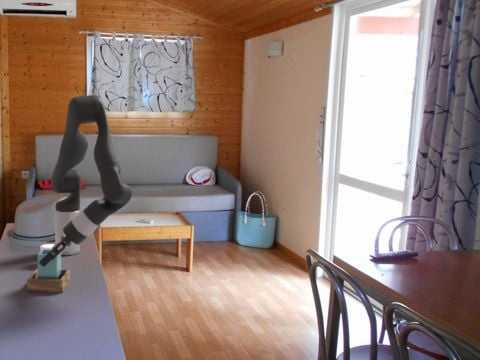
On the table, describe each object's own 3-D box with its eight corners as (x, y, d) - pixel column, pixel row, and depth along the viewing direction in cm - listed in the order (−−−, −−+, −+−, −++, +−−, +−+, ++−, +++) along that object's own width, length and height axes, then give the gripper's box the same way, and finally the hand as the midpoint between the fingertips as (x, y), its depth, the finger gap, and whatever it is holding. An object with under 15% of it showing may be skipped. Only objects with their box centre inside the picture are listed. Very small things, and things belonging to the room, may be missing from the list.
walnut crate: (37, 280, 195) (37, 268, 195) (70, 280, 196) (70, 269, 195) (27, 291, 184) (27, 279, 183) (62, 292, 185) (62, 280, 184)
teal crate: (42, 272, 192) (42, 249, 191) (61, 273, 193) (61, 249, 191) (37, 278, 186) (37, 254, 185) (56, 278, 187) (56, 254, 185)
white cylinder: (62, 262, 217) (62, 244, 216) (54, 267, 210) (54, 248, 209) (44, 260, 217) (44, 242, 216) (36, 266, 211) (36, 247, 210)
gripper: (77, 214, 194) (41, 247, 195) (68, 223, 180) (29, 259, 181) (93, 230, 195) (57, 263, 196) (85, 240, 181) (46, 276, 182)
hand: (44, 261), depth 188 cm, fingers closed on teal crate, 6 cm apart
